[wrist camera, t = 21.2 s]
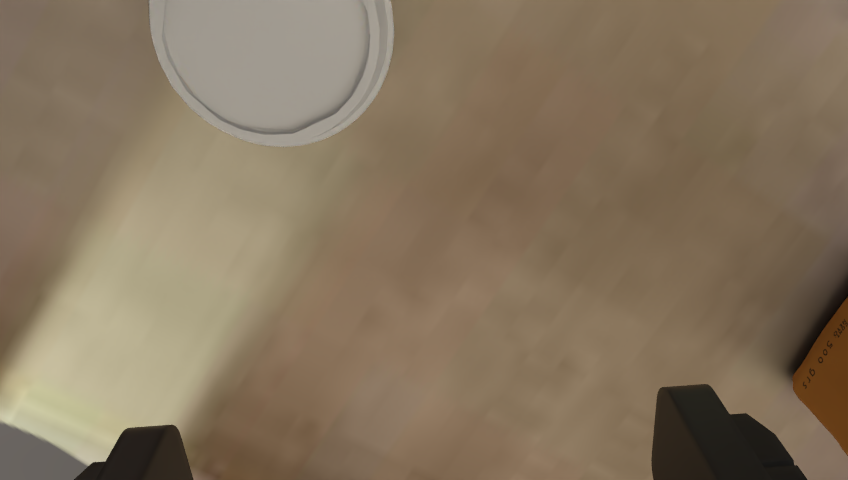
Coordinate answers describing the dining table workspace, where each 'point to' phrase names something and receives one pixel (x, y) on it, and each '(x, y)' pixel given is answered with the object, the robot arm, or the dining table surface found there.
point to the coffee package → (828, 377)
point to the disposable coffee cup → (275, 63)
